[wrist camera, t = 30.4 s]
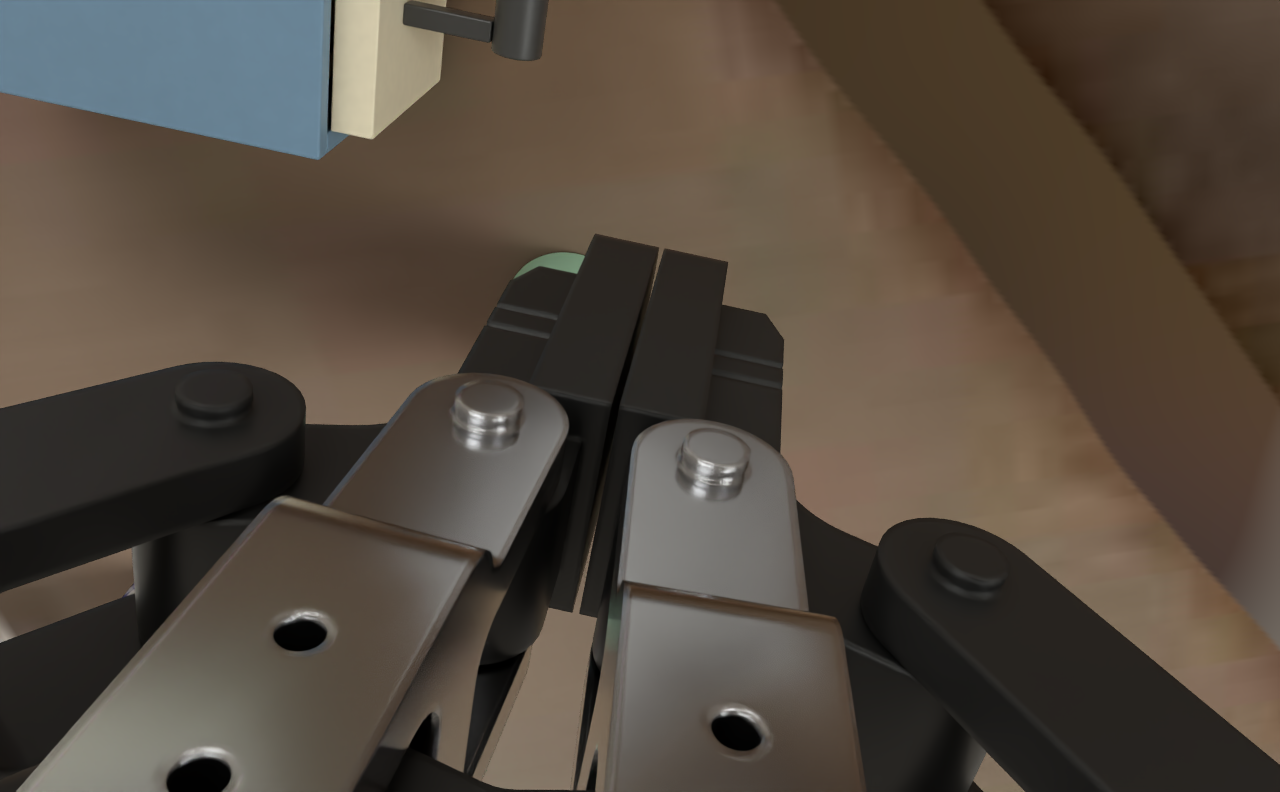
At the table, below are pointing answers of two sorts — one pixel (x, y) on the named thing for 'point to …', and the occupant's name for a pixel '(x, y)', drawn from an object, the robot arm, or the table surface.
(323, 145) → the cabinet
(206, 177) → the table surface
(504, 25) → the drawer
